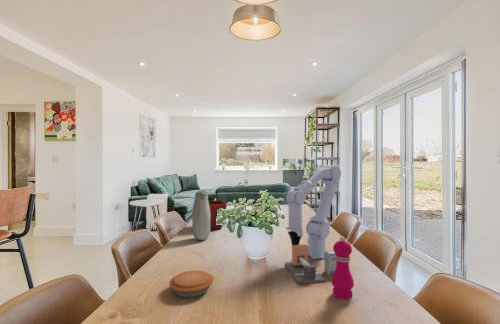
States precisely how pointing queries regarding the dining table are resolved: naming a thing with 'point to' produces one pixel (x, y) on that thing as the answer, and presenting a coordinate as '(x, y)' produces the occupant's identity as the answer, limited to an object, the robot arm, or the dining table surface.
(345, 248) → the pepper mill
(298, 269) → the pipe stand
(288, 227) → the robot arm
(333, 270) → the medicine box
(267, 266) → the dining table surface
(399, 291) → the dining table surface
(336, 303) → the dining table surface
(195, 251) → the dining table surface
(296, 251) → the collar
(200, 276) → the pie
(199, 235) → the grey vase
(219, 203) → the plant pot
